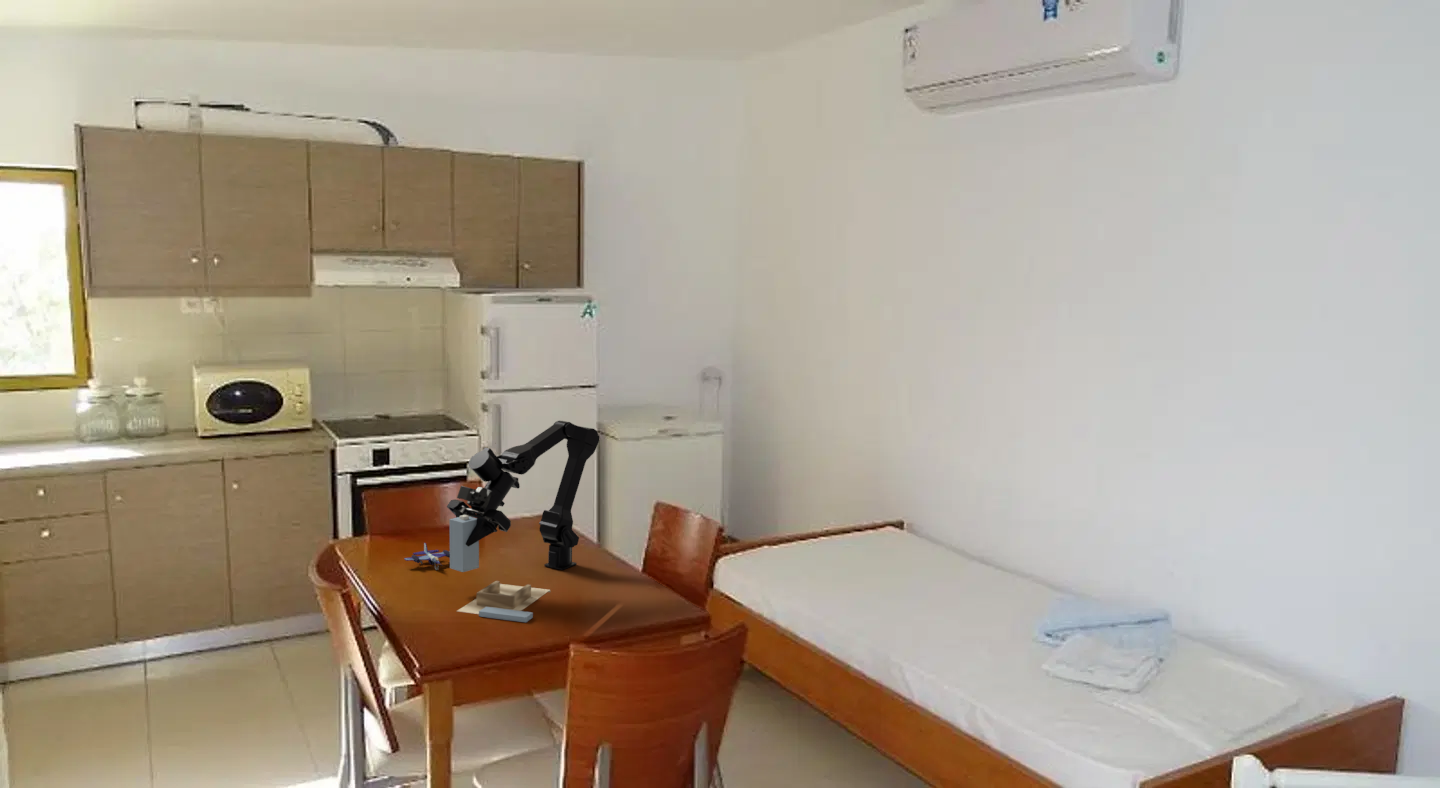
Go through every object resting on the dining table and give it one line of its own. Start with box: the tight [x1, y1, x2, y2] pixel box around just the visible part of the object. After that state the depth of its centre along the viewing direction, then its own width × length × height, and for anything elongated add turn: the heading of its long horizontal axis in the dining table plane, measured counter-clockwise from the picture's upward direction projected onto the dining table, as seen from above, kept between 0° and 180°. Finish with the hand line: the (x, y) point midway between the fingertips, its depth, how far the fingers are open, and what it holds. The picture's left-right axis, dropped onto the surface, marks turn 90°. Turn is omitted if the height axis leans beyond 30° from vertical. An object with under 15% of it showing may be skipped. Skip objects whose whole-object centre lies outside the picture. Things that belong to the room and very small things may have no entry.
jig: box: [456, 580, 551, 615], centre depth 252 cm, size 22×14×4 cm, turn 165°
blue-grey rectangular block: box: [448, 515, 480, 573], centre depth 256 cm, size 5×5×13 cm
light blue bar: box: [478, 607, 534, 623], centre depth 240 cm, size 12×4×1 cm, turn 75°
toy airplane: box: [404, 542, 450, 571], centre depth 280 cm, size 13×14×4 cm
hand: (459, 543), depth 255 cm, fingers closed on blue-grey rectangular block, 5 cm apart
